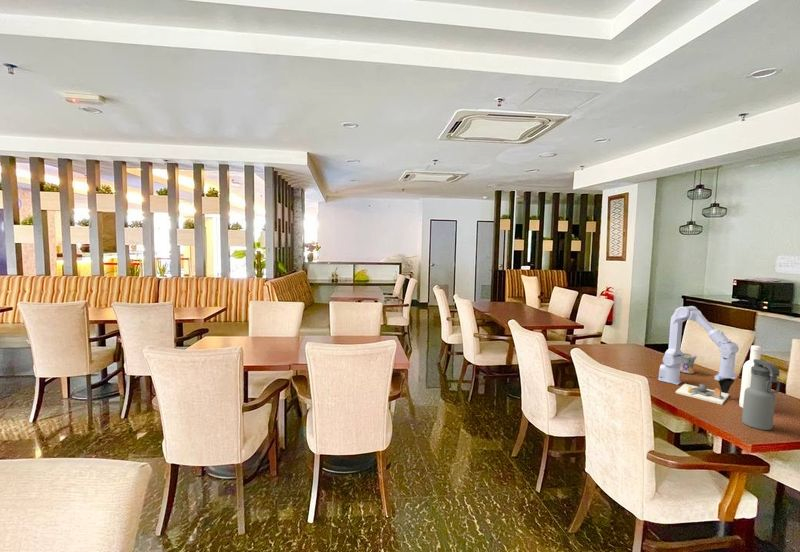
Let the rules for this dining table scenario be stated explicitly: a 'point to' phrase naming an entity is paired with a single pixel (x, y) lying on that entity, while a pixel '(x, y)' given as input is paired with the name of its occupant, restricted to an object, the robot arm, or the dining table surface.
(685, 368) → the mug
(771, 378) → the water bottle
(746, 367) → the bottle
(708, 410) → the dining table surface
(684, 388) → the base board
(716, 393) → the grey metal bracket
